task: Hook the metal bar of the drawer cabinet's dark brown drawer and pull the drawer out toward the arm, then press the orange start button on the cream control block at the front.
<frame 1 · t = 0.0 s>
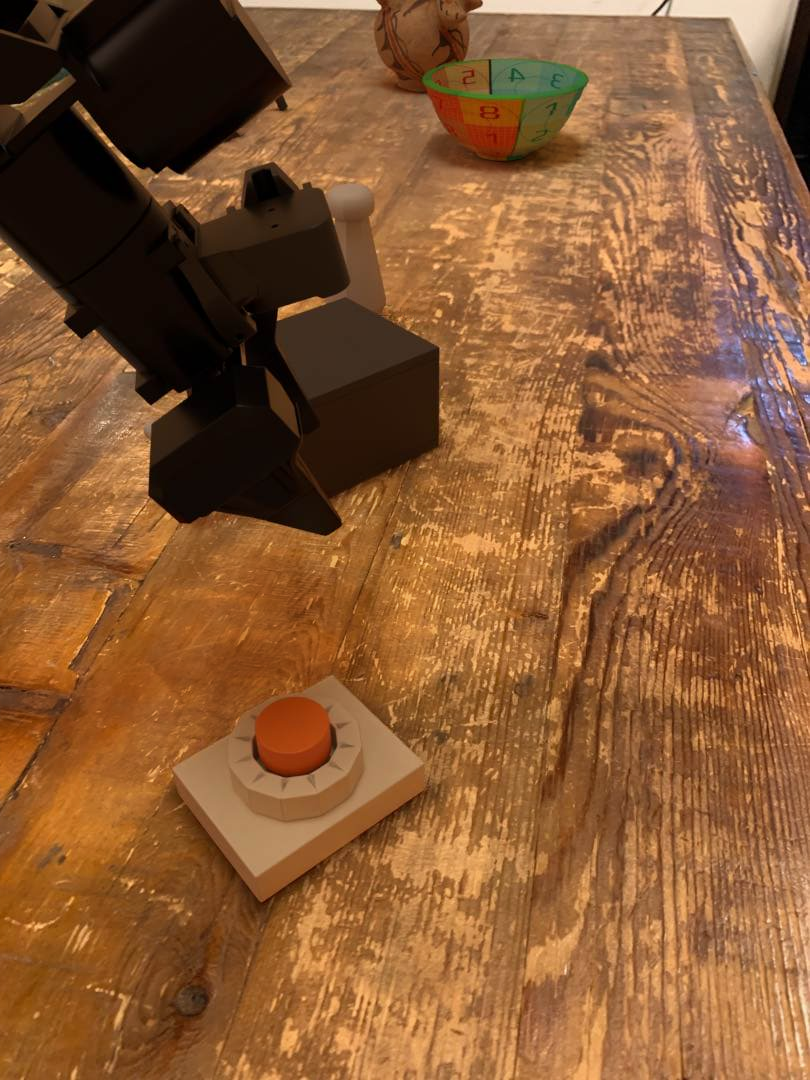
hand: (323, 475, 49), 13 cm above the table, tool tilted 35°, fingers open, 9 cm apart
potted plant: (215, 127, 147), on the table
dark brown drawer: (271, 419, 70), point 4 cm above the table, slide at 0.5 cm
drawer cabinet: (326, 446, 75), on the table
ceramic vessel: (428, 87, 164), on the table
start button: (293, 735, 46), point 4 cm above the table, slide at 0.1 cm
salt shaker: (356, 325, 92), on the table
bowl: (501, 154, 133), on the table
control block: (301, 792, 49), on the table
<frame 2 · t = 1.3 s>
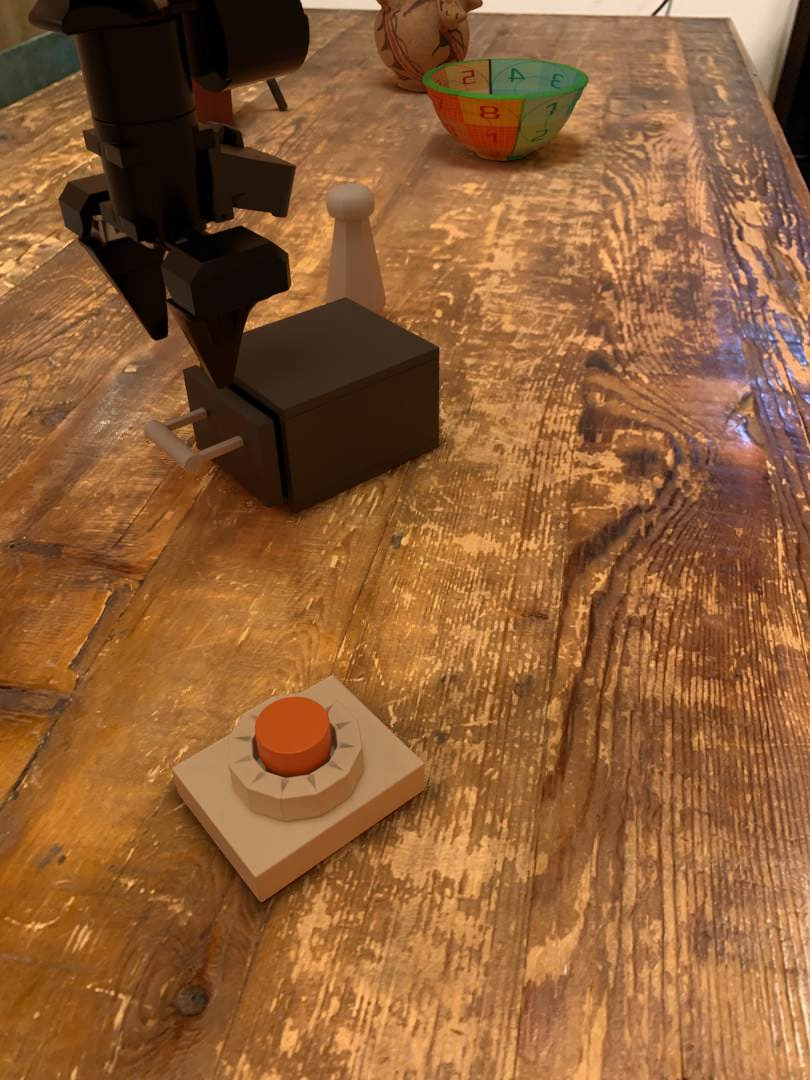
hand: (190, 361, 62), 11 cm above the table, tool pointing down, fingers open, 8 cm apart
nothing on the table moved.
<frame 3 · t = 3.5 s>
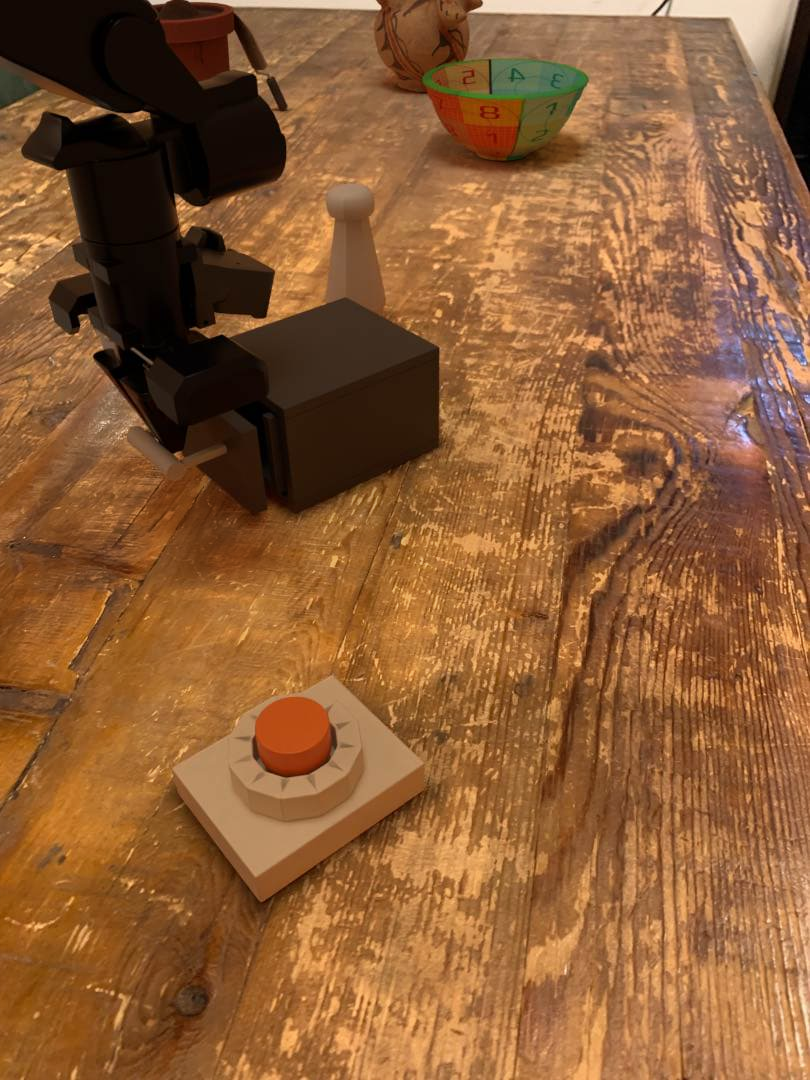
hand: (174, 450, 65), 5 cm above the table, tool pointing down, fingers closed, pressing on dark brown drawer
dark brown drawer: (255, 425, 69), point 4 cm above the table, slide at 1.8 cm, touching gripper
everything else where it was.
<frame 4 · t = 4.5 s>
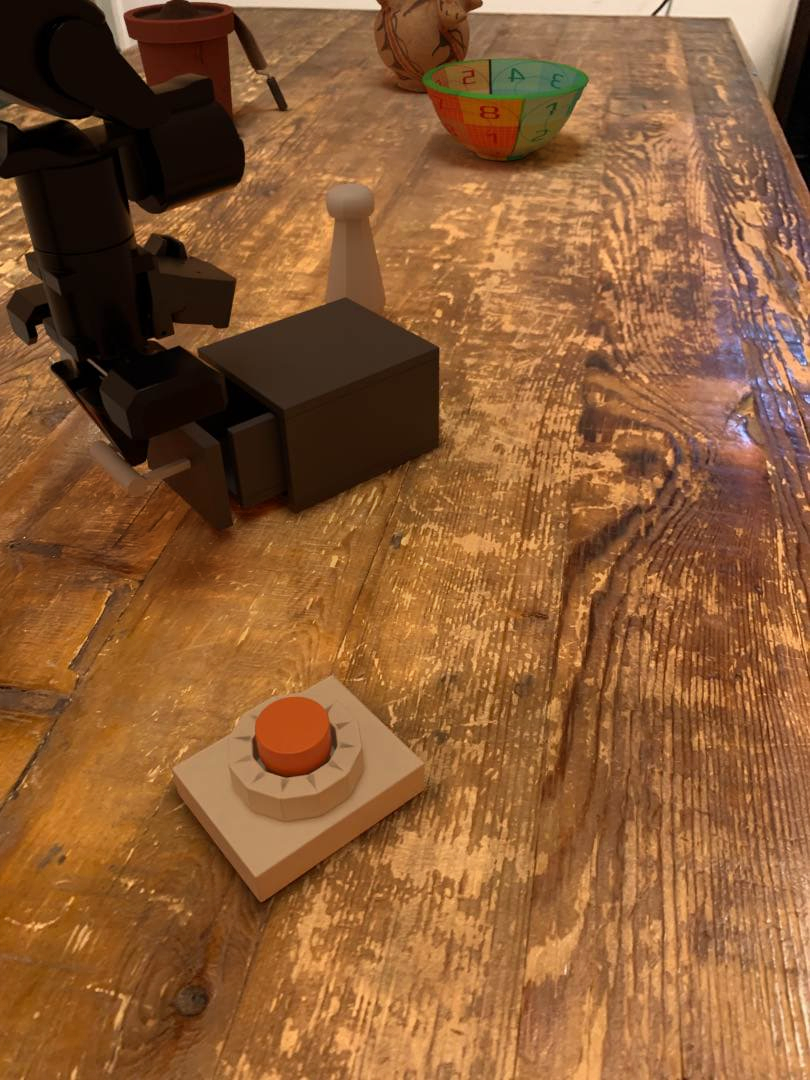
hand: (136, 462, 64), 5 cm above the table, tool pointing down, fingers closed
dark brown drawer: (222, 439, 68), point 4 cm above the table, slide at 4.6 cm
everything else where it was.
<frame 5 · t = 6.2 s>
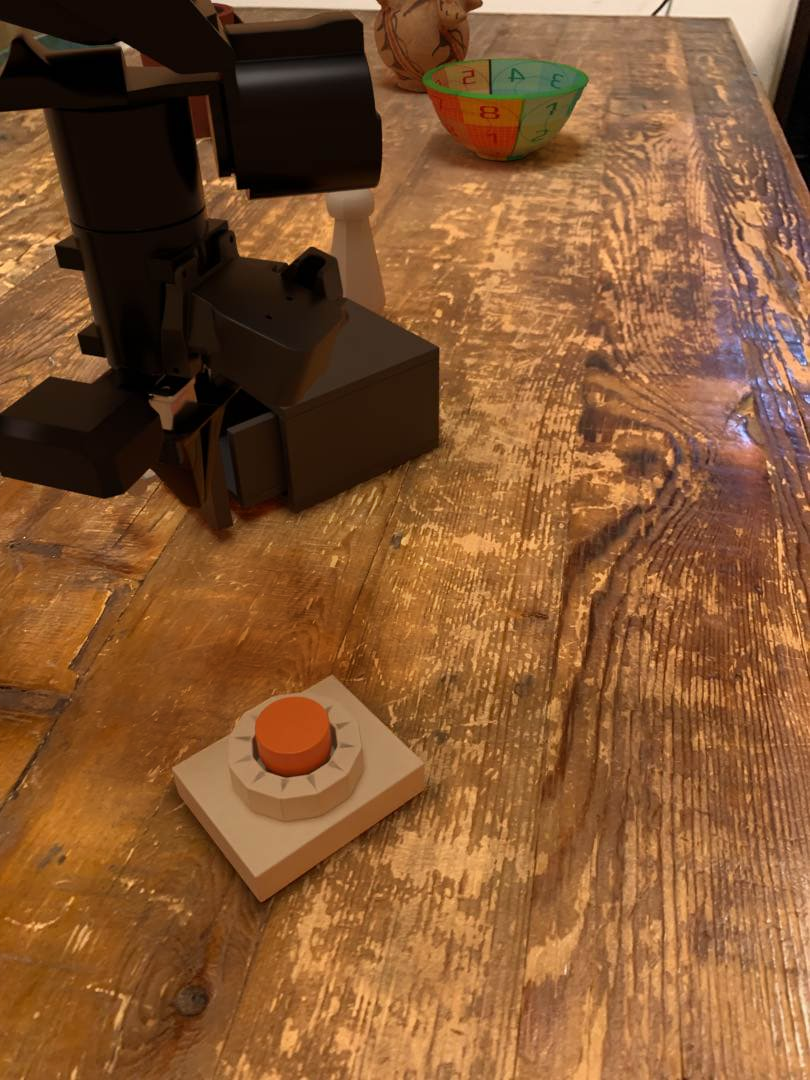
hand: (196, 503, 50), 11 cm above the table, tool pointing down, fingers closed
nothing on the table moved.
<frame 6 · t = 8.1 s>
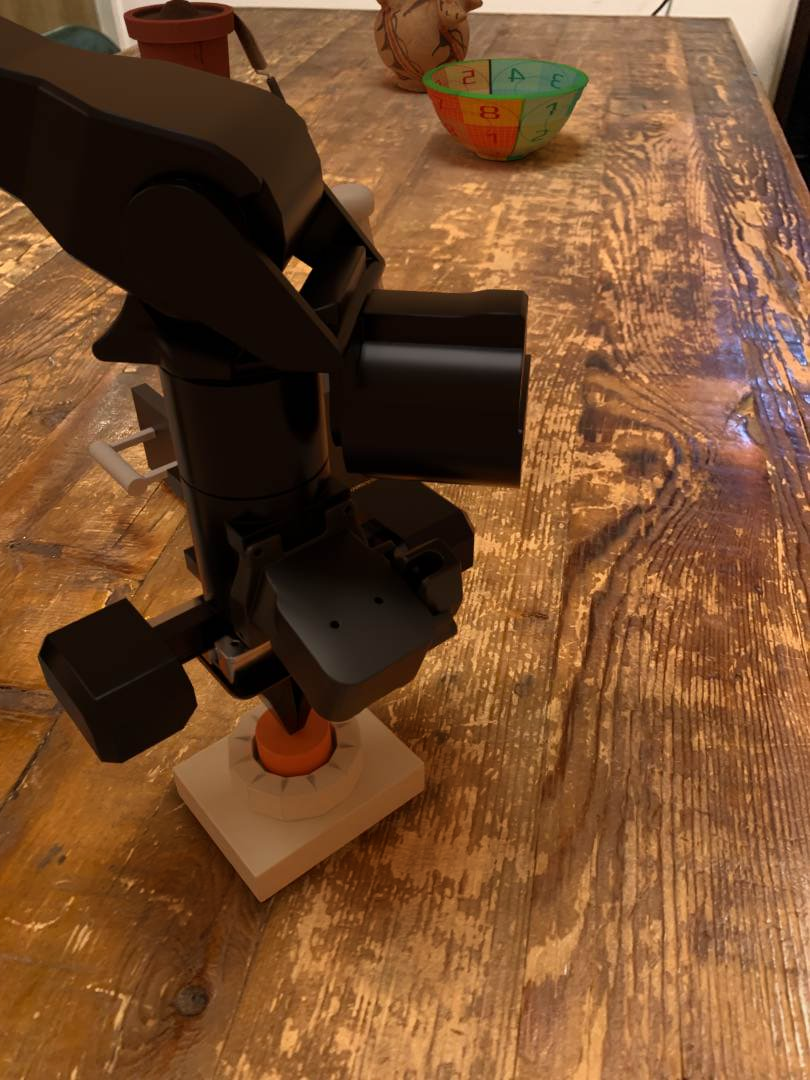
hand: (291, 726, 46), 5 cm above the table, tool pointing down, fingers closed, pressing on start button
start button: (294, 738, 46), point 4 cm above the table, slide at -0.1 cm, touching gripper
everything else where it was.
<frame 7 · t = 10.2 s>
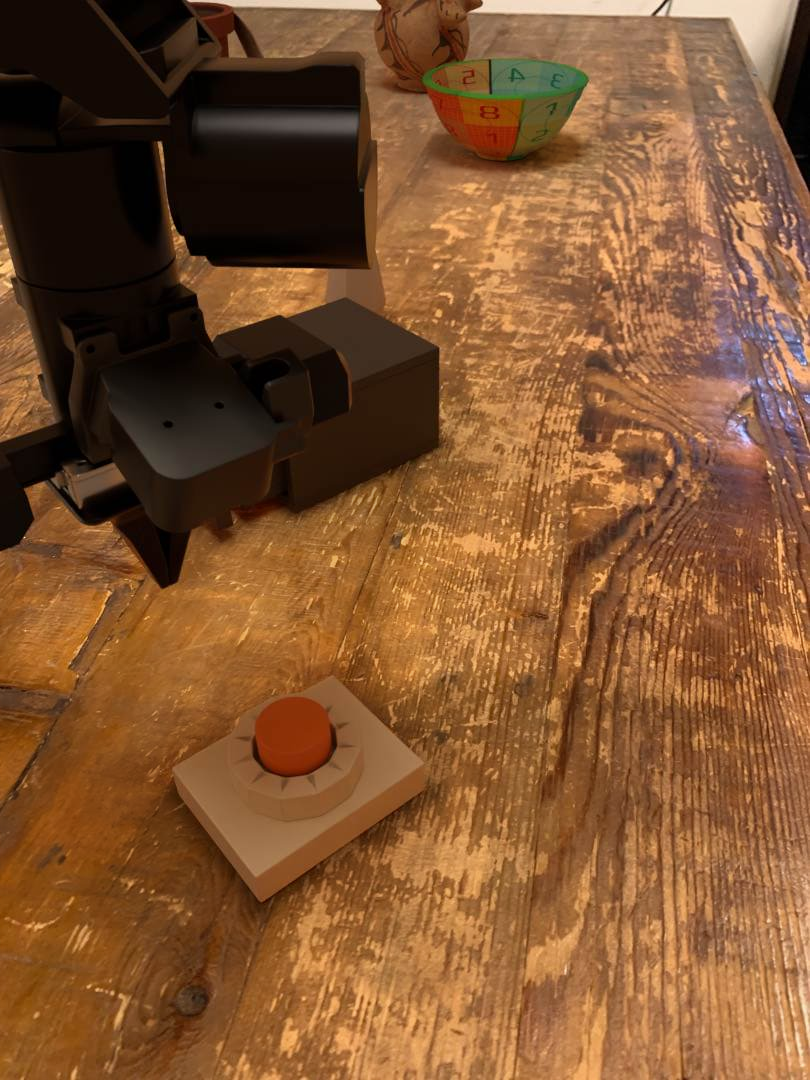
hand: (165, 581, 44), 12 cm above the table, tool pointing down, fingers closed
start button: (293, 735, 46), point 4 cm above the table, slide at 0.1 cm
everything else where it was.
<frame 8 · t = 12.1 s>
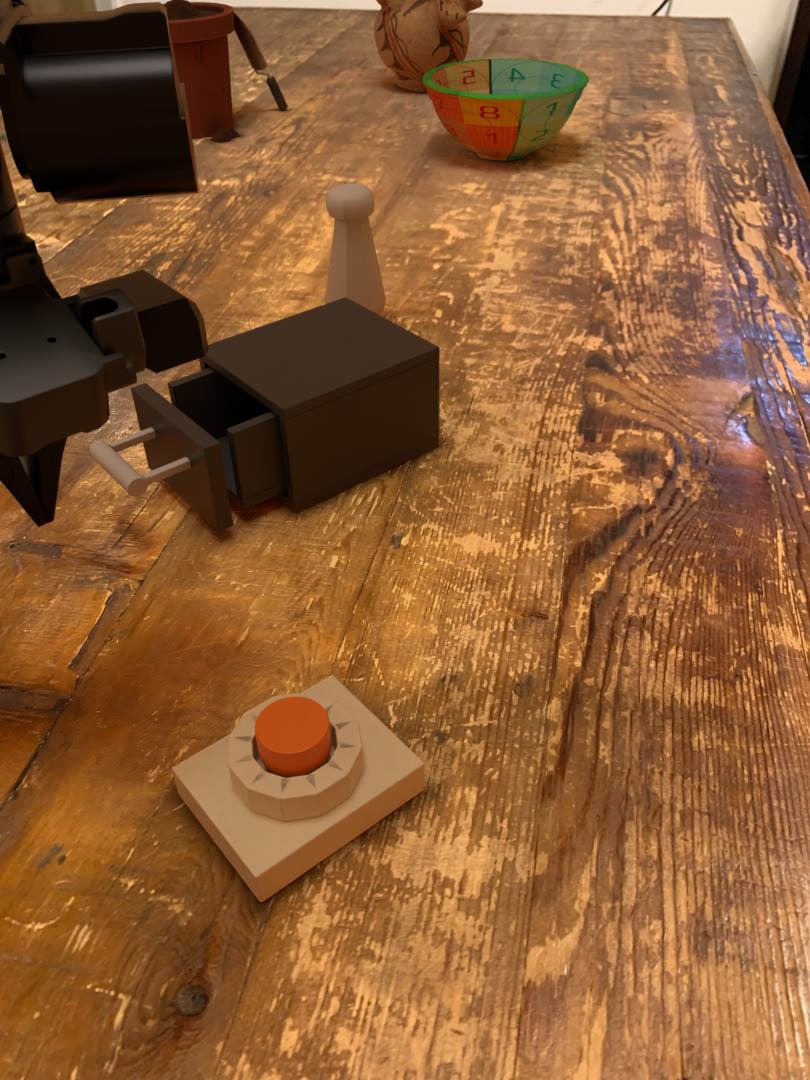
hand: (42, 520, 48), 12 cm above the table, tool pointing down, fingers closed
nothing on the table moved.
at the end: dark brown drawer slide at 4.6 cm; start button pushed in 1.1 cm at the most during the clip, back to where it started at the end; start button slide at 0.1 cm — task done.
